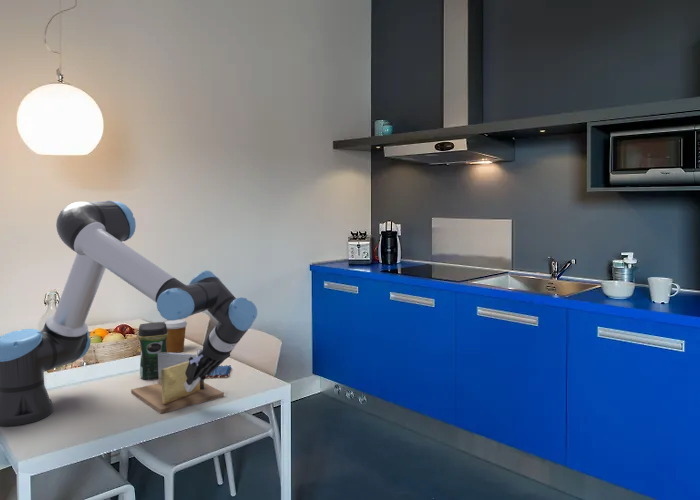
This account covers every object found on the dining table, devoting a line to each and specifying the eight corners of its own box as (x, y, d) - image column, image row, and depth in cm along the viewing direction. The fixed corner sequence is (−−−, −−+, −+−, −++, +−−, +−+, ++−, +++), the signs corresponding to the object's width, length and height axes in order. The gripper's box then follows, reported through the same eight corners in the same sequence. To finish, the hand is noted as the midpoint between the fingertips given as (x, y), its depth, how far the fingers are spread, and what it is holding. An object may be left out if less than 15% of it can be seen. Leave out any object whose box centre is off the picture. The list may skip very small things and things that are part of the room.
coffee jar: (168, 371, 196) (166, 319, 194) (170, 377, 189) (168, 324, 187) (139, 374, 193) (137, 321, 191) (140, 381, 185) (138, 326, 183)
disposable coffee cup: (183, 354, 217) (182, 324, 216) (159, 354, 217) (158, 324, 216) (190, 347, 226) (189, 318, 225) (167, 347, 226) (166, 318, 225)
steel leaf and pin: (207, 390, 177) (206, 348, 176) (202, 393, 174) (201, 351, 173) (161, 386, 181) (160, 345, 179) (156, 389, 178) (154, 348, 176)
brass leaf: (197, 389, 173) (196, 358, 172) (199, 390, 172) (198, 358, 171) (162, 403, 162) (161, 369, 161) (165, 403, 161) (163, 370, 160)
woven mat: (201, 370, 198) (201, 365, 198) (231, 369, 199) (231, 364, 199) (196, 380, 188) (196, 374, 188) (228, 379, 189) (228, 373, 189)
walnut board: (160, 413, 158) (160, 409, 158) (131, 393, 174) (131, 389, 174) (223, 396, 171) (223, 392, 171) (191, 379, 188) (190, 375, 188)
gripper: (207, 358, 145) (173, 405, 157) (246, 348, 155) (211, 392, 167) (194, 335, 148) (162, 382, 160) (234, 326, 158) (200, 371, 170)
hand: (187, 387), depth 164 cm, fingers closed
